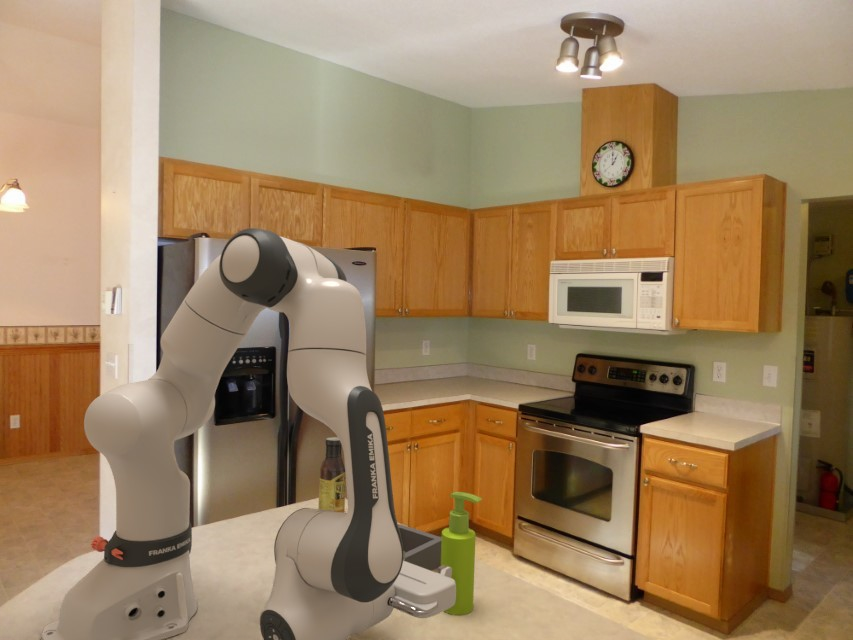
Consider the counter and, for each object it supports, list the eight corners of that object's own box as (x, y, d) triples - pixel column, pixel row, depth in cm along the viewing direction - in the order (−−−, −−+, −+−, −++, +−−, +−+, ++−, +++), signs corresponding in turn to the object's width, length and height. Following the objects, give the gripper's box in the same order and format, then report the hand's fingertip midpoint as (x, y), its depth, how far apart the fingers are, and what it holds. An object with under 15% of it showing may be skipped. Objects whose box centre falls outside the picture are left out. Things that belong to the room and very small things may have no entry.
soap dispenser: (468, 620, 101) (472, 502, 100) (433, 608, 105) (436, 494, 104) (484, 606, 106) (487, 493, 105) (450, 595, 110) (453, 486, 109)
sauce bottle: (339, 526, 142) (341, 442, 142) (314, 524, 143) (316, 440, 143) (348, 517, 148) (350, 437, 148) (324, 514, 150) (326, 435, 149)
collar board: (406, 605, 105) (407, 568, 105) (334, 574, 116) (335, 541, 116) (463, 571, 120) (464, 538, 120) (395, 547, 131) (395, 517, 131)
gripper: (422, 593, 80) (479, 561, 91) (318, 551, 93) (378, 527, 104) (421, 640, 80) (477, 602, 91) (316, 592, 93) (377, 564, 104)
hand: (424, 562), depth 97 cm, fingers open, 8 cm apart
